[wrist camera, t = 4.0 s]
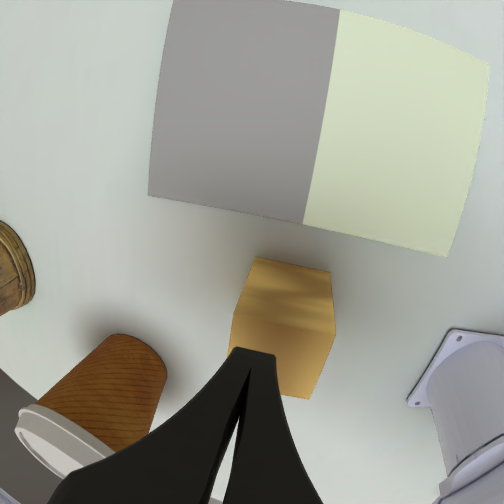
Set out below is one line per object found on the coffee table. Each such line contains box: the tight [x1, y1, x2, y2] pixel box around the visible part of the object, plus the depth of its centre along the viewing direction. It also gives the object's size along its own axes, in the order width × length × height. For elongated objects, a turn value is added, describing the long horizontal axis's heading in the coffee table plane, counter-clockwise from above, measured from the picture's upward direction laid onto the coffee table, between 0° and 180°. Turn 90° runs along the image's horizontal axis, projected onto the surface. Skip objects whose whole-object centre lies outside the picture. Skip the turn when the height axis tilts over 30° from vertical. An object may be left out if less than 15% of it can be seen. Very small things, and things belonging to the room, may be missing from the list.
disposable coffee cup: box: [15, 334, 167, 479], centre depth 19 cm, size 10×10×12 cm
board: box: [148, 0, 490, 258], centre depth 15 cm, size 18×12×1 cm, turn 81°
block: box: [227, 257, 336, 399], centre depth 17 cm, size 4×4×6 cm
